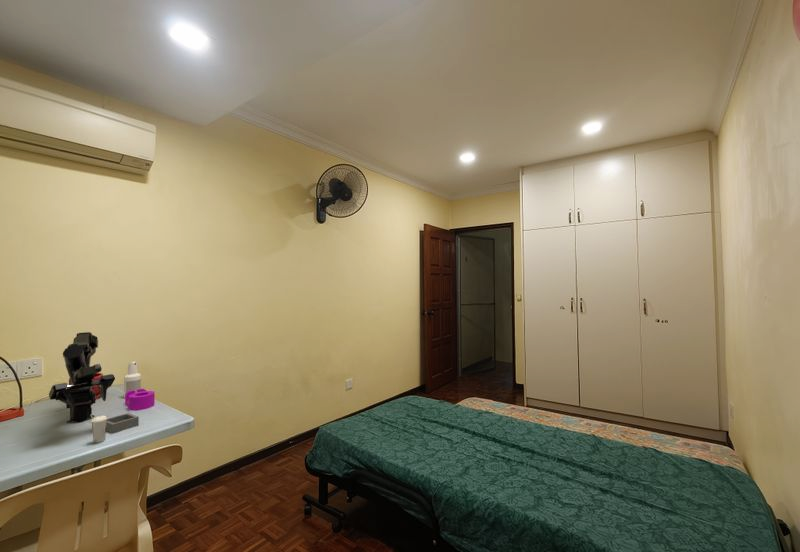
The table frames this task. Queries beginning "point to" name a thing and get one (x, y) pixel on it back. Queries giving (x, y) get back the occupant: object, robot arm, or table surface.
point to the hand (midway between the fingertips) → (90, 403)
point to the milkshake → (99, 428)
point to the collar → (121, 422)
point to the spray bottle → (132, 379)
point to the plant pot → (94, 388)
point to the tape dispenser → (139, 399)
